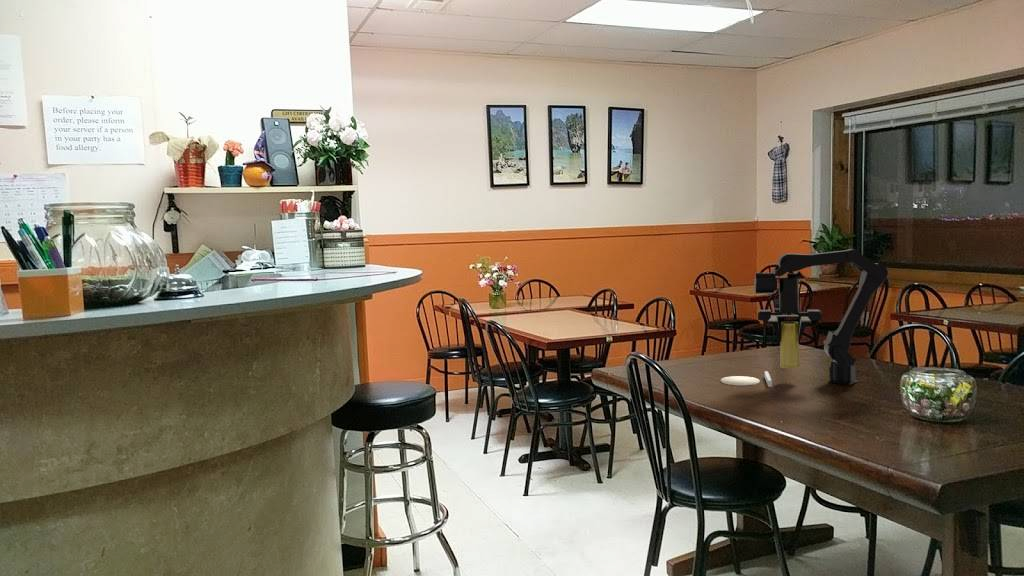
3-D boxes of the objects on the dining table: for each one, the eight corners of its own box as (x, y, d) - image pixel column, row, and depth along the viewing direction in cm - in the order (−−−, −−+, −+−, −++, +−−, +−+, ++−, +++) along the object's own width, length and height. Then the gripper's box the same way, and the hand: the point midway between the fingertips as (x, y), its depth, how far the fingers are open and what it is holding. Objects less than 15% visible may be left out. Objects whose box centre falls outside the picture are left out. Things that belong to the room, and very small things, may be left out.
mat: (766, 380, 225) (766, 379, 225) (746, 387, 217) (746, 385, 217) (734, 376, 234) (734, 374, 234) (713, 382, 226) (713, 380, 226)
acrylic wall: (764, 377, 230) (764, 371, 230) (767, 377, 230) (767, 371, 230) (768, 386, 217) (768, 380, 217) (771, 386, 217) (771, 380, 216)
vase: (803, 368, 218) (802, 323, 217) (783, 369, 218) (783, 324, 217) (796, 364, 224) (795, 320, 223) (776, 365, 224) (776, 321, 223)
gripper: (819, 290, 224) (819, 338, 225) (757, 291, 230) (758, 337, 231) (821, 293, 213) (822, 343, 214) (757, 294, 220) (758, 343, 221)
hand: (789, 341), depth 221 cm, fingers closed on vase, 5 cm apart
